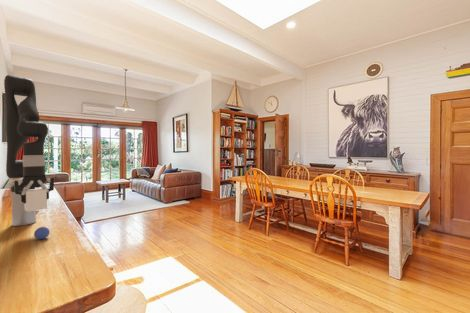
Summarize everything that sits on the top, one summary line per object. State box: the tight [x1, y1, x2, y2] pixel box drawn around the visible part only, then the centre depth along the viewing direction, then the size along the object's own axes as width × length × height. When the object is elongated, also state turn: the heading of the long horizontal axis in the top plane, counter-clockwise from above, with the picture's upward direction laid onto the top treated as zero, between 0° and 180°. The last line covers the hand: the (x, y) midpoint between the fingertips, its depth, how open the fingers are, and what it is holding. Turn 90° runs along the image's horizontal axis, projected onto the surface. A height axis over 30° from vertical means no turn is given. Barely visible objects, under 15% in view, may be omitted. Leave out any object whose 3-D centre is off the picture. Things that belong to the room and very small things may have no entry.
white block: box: [24, 187, 48, 212], centre depth 104 cm, size 7×7×9 cm
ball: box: [33, 226, 51, 240], centre depth 97 cm, size 5×5×5 cm
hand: (35, 201), depth 104 cm, fingers closed on white block, 7 cm apart
